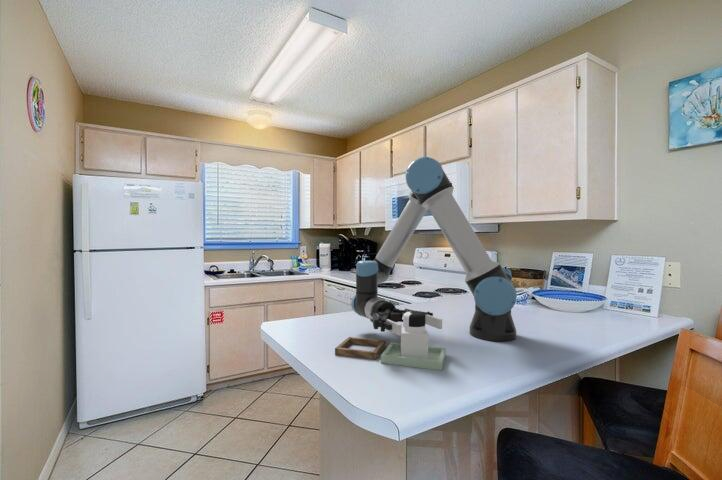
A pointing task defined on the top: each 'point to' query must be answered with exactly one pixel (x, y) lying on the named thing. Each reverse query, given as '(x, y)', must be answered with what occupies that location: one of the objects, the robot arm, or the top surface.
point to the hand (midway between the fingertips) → (421, 327)
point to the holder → (374, 354)
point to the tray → (433, 362)
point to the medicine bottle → (414, 336)
